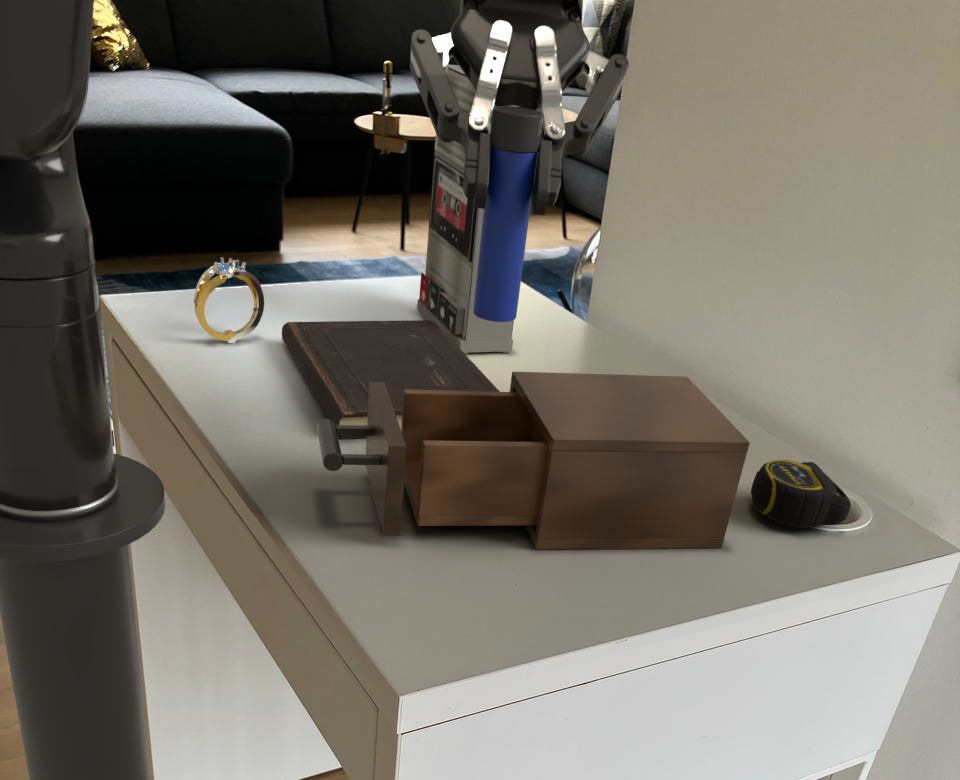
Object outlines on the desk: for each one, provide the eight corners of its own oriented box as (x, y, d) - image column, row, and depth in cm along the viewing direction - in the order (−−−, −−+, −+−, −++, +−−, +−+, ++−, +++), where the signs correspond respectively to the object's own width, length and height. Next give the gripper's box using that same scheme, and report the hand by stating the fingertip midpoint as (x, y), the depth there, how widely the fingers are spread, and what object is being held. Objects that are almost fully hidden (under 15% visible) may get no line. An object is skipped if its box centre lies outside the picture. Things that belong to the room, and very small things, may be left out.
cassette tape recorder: (414, 311, 120) (432, 63, 106) (465, 311, 122) (489, 67, 108) (457, 355, 110) (483, 86, 96) (511, 353, 112) (544, 90, 98)
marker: (476, 321, 67) (499, 112, 60) (467, 306, 69) (488, 104, 63) (522, 323, 68) (549, 117, 61) (511, 308, 70) (536, 108, 63)
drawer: (324, 535, 74) (327, 445, 70) (312, 463, 83) (314, 380, 79) (566, 534, 78) (581, 448, 74) (529, 465, 87) (541, 386, 83)
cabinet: (536, 549, 78) (553, 439, 73) (499, 472, 88) (512, 371, 83) (722, 548, 81) (750, 442, 76) (665, 473, 91) (687, 376, 86)
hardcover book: (432, 341, 112) (433, 319, 111) (511, 430, 95) (514, 406, 94) (281, 344, 107) (281, 321, 106) (336, 439, 90) (337, 413, 88)
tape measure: (845, 537, 85) (859, 495, 82) (765, 536, 83) (777, 493, 81) (809, 497, 90) (822, 457, 88) (734, 495, 89) (745, 454, 87)
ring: (257, 333, 109) (256, 253, 104) (269, 344, 107) (269, 263, 102) (190, 339, 106) (186, 256, 101) (201, 350, 103) (197, 266, 99)
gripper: (413, -115, 62) (393, 151, 59) (650, -83, 63) (643, 179, 60) (409, -14, 69) (390, 227, 66) (621, 13, 70) (613, 251, 67)
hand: (511, 203), depth 63 cm, fingers closed on marker, 3 cm apart
